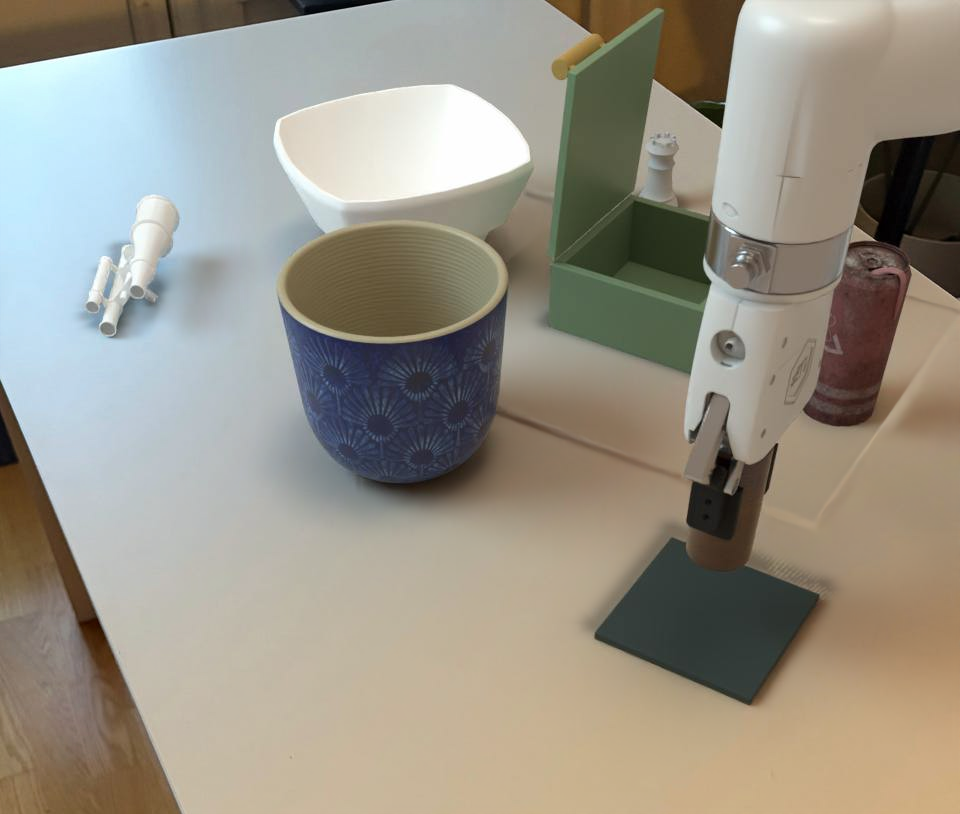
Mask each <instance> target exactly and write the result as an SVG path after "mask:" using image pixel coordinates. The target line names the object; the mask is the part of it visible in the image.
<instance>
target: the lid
mask: <svg viewBox="0 0 960 814" xmlns="http://www.w3.org/2000/svg"><path fill="white" fill-rule="evenodd" d="M664 16H665V9H663V8H659V7H656V8H654V9H653V10H651V11H650V12H649V13H647V14H645V16H643V17H642V18H640V19H639V20H637V21H636V22H635V23H633V24H632V25H631V26H629V27H628V28H626V29H625V30H624V31H622V32H621V33H619V34H618V35H617V36H615V37H614V38H612V39H611V40H610V41H608V42H607V43H605V42H604V39H603V37H602V36H601V35H600V34H598V33H591V34H589V35H588V36H587V37H585V38H584V39H582V40H581V41H580V42H578V43H577V44H576V45H574V46H573V47H571V48H570V49H568V50H567V51H566V52H564V53H562V54H561V55H560V56H558V57H557V58H556V59H554V60H553V61H552V63H551V67H550V68H551V74H552V75H553V77H554V78H555V79H556V80H558V81H564V80H566V86H565V87H566V88H565V97H564V105H563V113H562V123H561V133H560V140H559V149H558V157H557V166H556V167H557V168H556V174H555V175H556V176H555V184H554V193H553V202H552V211H551V219H550V226H549V227H550V228H549V238H548V245H547V255H546V258H548V259H549V260H552V261H555V260H556V259H557V258H559V257H560V256H561V255H562V254H563V253H564V252H565V251H567V250H568V249H569V248H570V247H571V246H572V245H573V244H575V243H576V242H577V241H578V240H579V239H580V238H581V237H583V236H584V235H585V234H586V233H587V232H588V231H589V230H591V229H592V228H593V227H594V226H595V225H596V224H597V223H598V222H600V221H601V220H602V219H603V218H604V217H605V216H606V215H608V214H609V213H610V212H611V211H612V210H613V209H614V208H616V207H617V206H618V205H619V204H620V203H621V202H622V201H624V200H625V199H626V198H627V197H628V196H629V195H630V194H632V193H633V192H634V191H635V189H636V183H637V177H638V171H639V164H640V159H641V153H642V148H643V141H644V137H645V136H644V135H645V131H646V124H647V117H648V112H649V107H650V99H651V94H652V88H653V82H654V77H655V72H656V71H655V70H656V64H657V58H658V52H659V46H660V40H661V35H662V29H663V23H664V18H665V17H664Z"/></svg>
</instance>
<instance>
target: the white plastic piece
mask: <svg viewBox="0 0 960 814" xmlns="http://www.w3.org/2000/svg"><path fill="white" fill-rule="evenodd" d="M135 217H136V218H135V222H134V223H133V224H132V226H131V228H130V231H129V239H130V244H124V245H123V246H122V248H121V251H120V253H121V256H120V259H119V262H118V266H117V265H115V264H114V261H113V259H112V258H111V257H109V256H106V255H104V256H101V257H100V258H99V260H98V267H97V270H96V274H95V277H94V280H93V283H92V286H91V289H90V290H89V292H88V299H87V301H86V302H85V305H84V307H85V310H86V311H87V312H88V313H89V314H93V315H95V314H98V313H99V312H100V310H101V305H102V306H104V307H103V308H104V313H103V316H102V320H101V322H100V323H99V326H98V330H99V332H100V333H101V334H102V335H103V336H105V337H114V336H115V335H116V334H117V326H118V323H119V320H120V316H122V315H123V313H124V306H125V305H126V303H127V302H128V301H129V299H130V298H132V299H137V300H142V299H143V298H145V299H146V300H147V301H149V302H150V303H151V304H154V303H155V302H156V300H157V298H158V295H157V294H156V293H155V292H153V291H152V290H151V289H149V288H148V285H150V283H152V282H154V280H155V279H156V277H157V268H158V264H159V261H160V260H161V259H163V258H165V257H167V256H168V255H169V254H170V253H171V251H172V249H173V246H174V237H173V236H174V233H176V231H177V229H178V228H179V226H180V220H181V219H180V218H181V217H180V213H179V210H178V208H177V207H176V204H174V203H173V201H171V200H170V199H169V198H167V197H165V196H163V195H159V194H148V195H146V196H143V197H142V198H141V199H140V200H139V201H138V203H137V205H136V207H135ZM111 272H112V273H113V278H114V279H113V283H112V286H111V290H110V293H109V297H108V298H107V297H105V296H104V292H105V290H106V286H107V282H108V279H109V277H110V273H111Z"/></svg>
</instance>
